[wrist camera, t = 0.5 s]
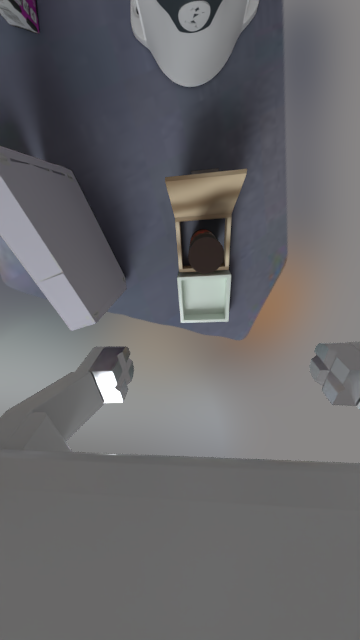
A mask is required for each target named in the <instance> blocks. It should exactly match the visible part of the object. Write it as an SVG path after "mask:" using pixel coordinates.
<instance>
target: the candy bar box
mask: <svg viewBox="0 0 360 640" xmlns="http://www.w3.org/2000/svg"><path fill="white" fill-rule="evenodd" d="M0 15H1V16H2V17H3V18H4V19H5V20H6V21H7V22H8V23H9V24H10V25H12V26H16V27H19V28H23V29H26V30H29V31H31V32H34V33H39V24H38V15H37V5H36V0H0Z"/></svg>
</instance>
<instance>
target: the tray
mask: <svg viewBox="0 0 360 640" xmlns="http://www.w3.org/2000/svg"><path fill="white" fill-rule="evenodd" d="M177 281H178V293H179V305H180V317H181V323H194V322H228V319H229V302H230V286H231V273H230V272H229V270H220V271H214V272H212V273H209V274H201V273H199V272H184V273H178V276H177Z"/></svg>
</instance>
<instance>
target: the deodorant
mask: <svg viewBox="0 0 360 640" xmlns="http://www.w3.org/2000/svg"><path fill="white" fill-rule="evenodd" d="M188 259H189V263H190V265H191V267H192V268H193V269H194V270H195V271H197V272H199V273H201V274H209V273H212V272H214V271H216V270H217V269H218V268H219V267H220V266H221V264H222V262H223V259H224V250H223V247H222V245H221V244H220V242H219V241H218V240H217V238H216V237H215V236H214V235H213V233H212V232H210V231H209V230H206V229H201V230H198V231H196V232H195V233H194V234H193V236H192V238H191V241H190V247H189V254H188Z"/></svg>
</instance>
